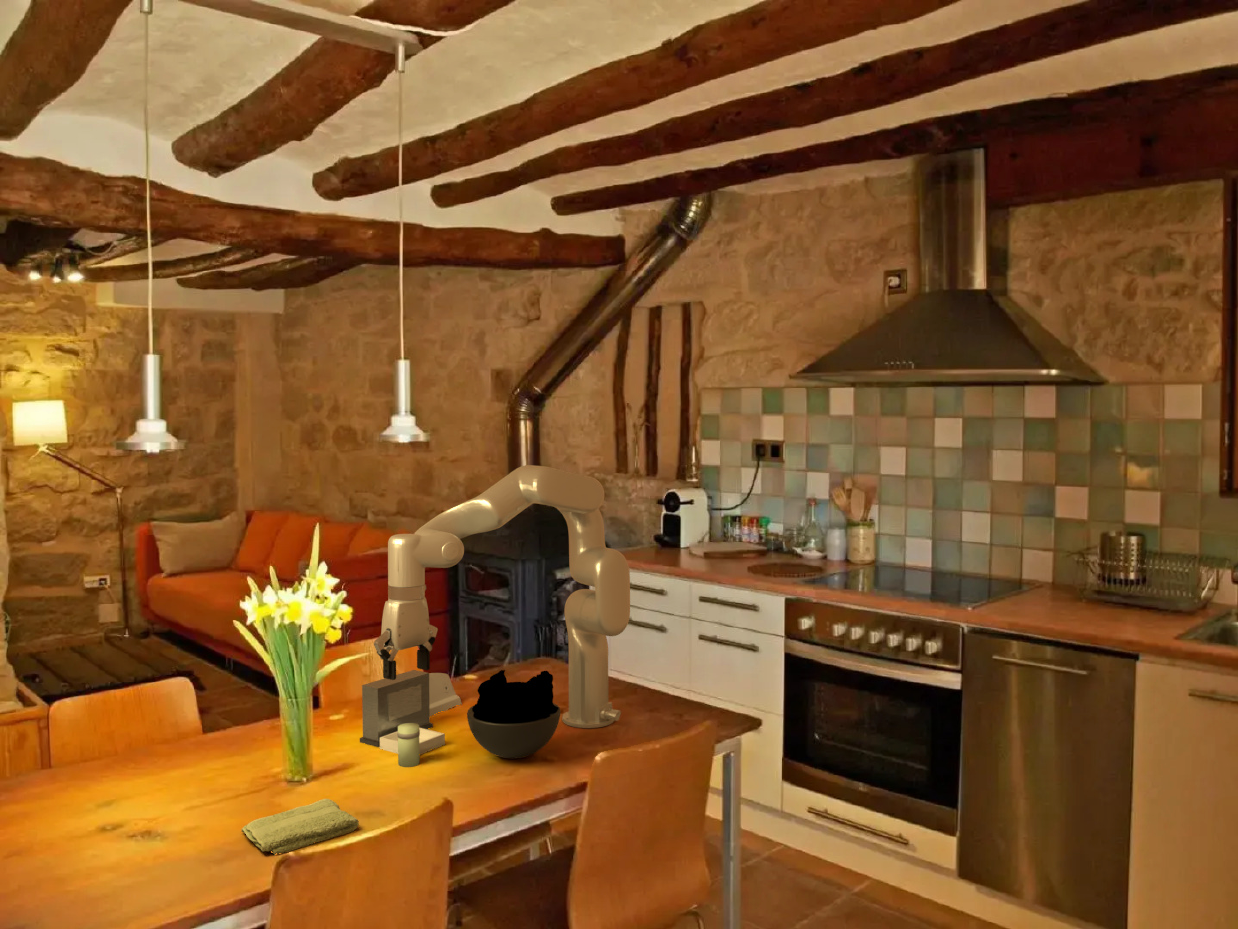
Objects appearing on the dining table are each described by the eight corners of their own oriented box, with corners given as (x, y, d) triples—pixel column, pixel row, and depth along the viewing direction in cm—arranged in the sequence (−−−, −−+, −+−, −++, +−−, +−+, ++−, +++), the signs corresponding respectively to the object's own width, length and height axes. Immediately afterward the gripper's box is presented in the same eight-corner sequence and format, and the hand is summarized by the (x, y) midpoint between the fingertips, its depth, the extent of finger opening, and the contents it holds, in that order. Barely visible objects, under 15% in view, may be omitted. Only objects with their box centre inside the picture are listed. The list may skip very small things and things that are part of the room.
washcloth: (237, 836, 182) (237, 818, 182) (332, 811, 193) (331, 794, 193) (264, 862, 172) (264, 843, 172) (363, 833, 183) (362, 816, 183)
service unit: (432, 727, 242) (432, 672, 241) (378, 747, 228) (377, 689, 227) (414, 723, 245) (413, 669, 244) (359, 742, 231) (358, 685, 230)
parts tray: (444, 744, 229) (444, 733, 229) (412, 757, 221) (412, 746, 221) (412, 736, 235) (412, 726, 235) (379, 748, 227) (379, 737, 226)
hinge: (418, 721, 246) (407, 680, 247) (404, 725, 249) (393, 684, 250) (463, 704, 261) (452, 665, 262) (449, 707, 263) (438, 669, 264)
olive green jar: (424, 762, 218) (424, 725, 218) (408, 768, 214) (408, 731, 214) (409, 758, 221) (408, 721, 220) (393, 764, 217) (392, 727, 216)
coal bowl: (448, 763, 217) (448, 676, 216) (499, 736, 235) (498, 655, 234) (531, 778, 209) (530, 687, 208) (576, 748, 227) (576, 664, 226)
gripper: (423, 585, 224) (423, 663, 225) (362, 597, 210) (363, 680, 211) (448, 589, 220) (448, 668, 221) (388, 601, 206) (388, 685, 207)
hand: (406, 674), depth 216 cm, fingers open, 9 cm apart
